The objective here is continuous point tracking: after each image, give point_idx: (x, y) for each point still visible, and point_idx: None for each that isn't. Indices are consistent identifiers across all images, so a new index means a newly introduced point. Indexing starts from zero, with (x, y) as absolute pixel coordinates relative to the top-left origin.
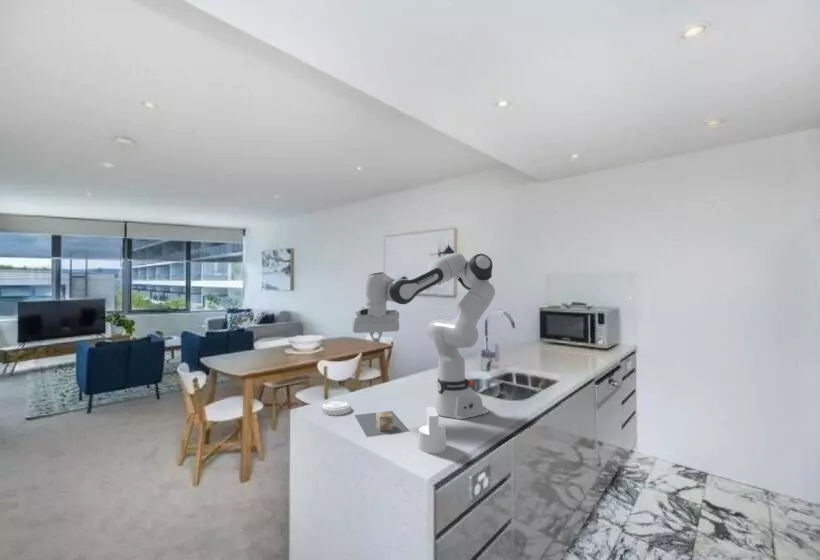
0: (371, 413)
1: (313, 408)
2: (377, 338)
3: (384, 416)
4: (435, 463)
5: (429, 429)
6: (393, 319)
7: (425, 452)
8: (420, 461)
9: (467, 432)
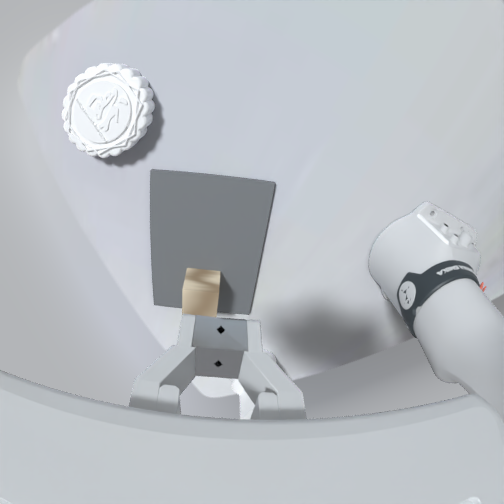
0: (204, 177)
1: (56, 57)
2: (235, 368)
3: (195, 314)
4: None
5: (240, 402)
6: None
7: None
8: (215, 380)
9: (345, 341)
